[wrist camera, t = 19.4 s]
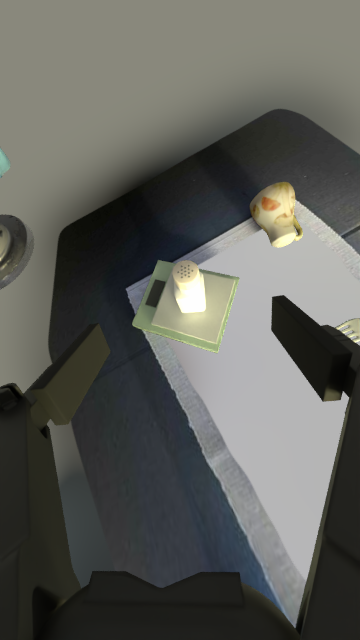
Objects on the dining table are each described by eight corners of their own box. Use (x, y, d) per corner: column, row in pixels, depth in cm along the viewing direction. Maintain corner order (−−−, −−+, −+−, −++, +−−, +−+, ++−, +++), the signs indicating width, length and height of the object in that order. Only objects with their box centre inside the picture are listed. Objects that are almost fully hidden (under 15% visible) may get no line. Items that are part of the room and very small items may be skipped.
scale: (136, 327, 36) (129, 323, 33) (161, 266, 39) (157, 257, 36) (217, 353, 32) (217, 350, 30) (237, 283, 35) (240, 275, 33)
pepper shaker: (204, 289, 33) (201, 255, 24) (206, 312, 32) (203, 285, 23) (180, 291, 33) (168, 258, 24) (181, 314, 32) (168, 288, 23)
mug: (265, 261, 36) (255, 206, 30) (253, 237, 43) (243, 188, 36) (312, 245, 34) (312, 180, 27) (291, 222, 40) (288, 166, 34)
